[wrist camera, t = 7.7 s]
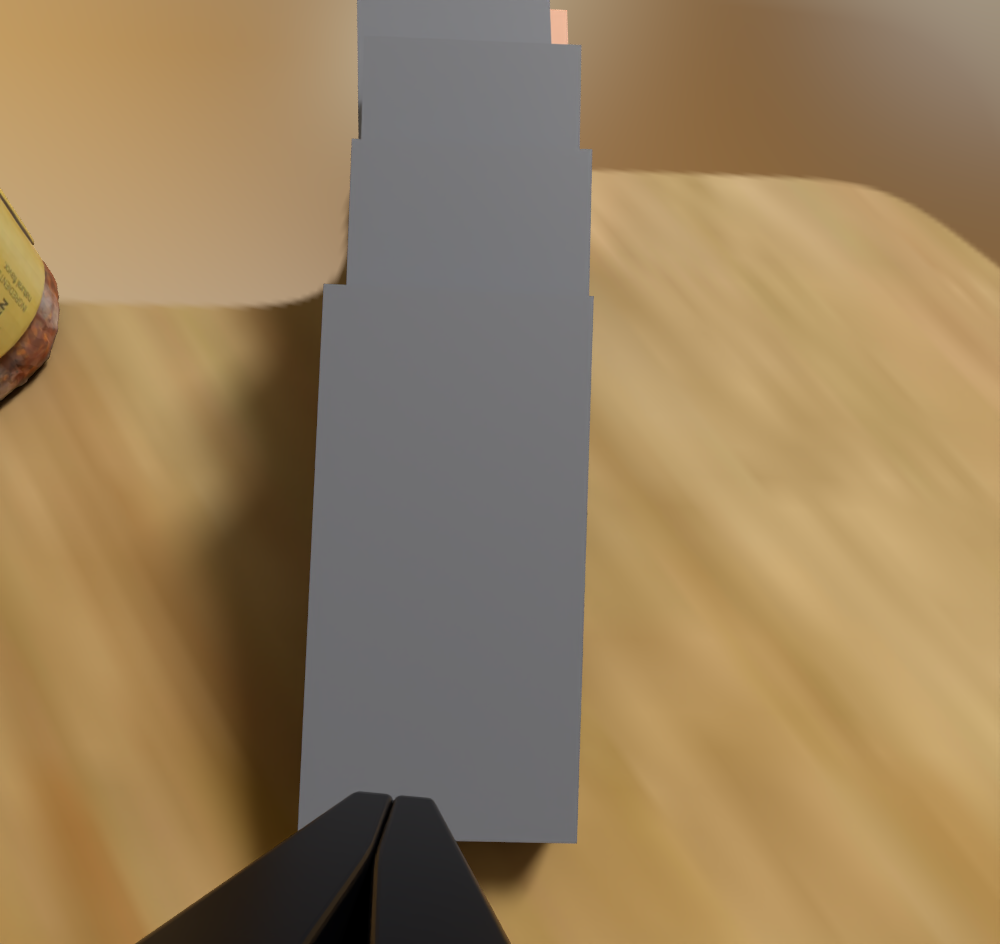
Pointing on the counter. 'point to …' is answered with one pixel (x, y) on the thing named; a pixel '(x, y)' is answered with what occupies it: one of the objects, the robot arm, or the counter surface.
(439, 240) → the domino
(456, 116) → the domino
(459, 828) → the domino
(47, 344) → the sauce bottle
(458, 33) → the domino
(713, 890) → the counter surface
